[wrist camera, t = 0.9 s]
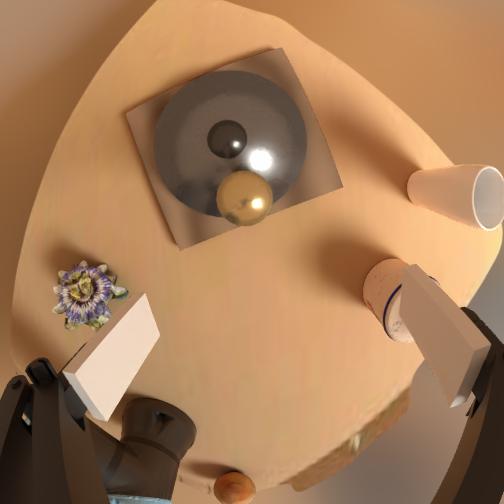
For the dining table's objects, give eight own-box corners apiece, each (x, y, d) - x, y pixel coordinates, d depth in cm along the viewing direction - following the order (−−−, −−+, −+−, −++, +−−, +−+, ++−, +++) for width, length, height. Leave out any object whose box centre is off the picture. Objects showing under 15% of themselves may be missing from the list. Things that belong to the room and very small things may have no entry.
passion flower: (120, 259, 43) (132, 275, 33) (116, 320, 43) (129, 351, 34) (56, 253, 36) (48, 268, 26) (56, 317, 37) (52, 350, 27)
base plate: (182, 247, 36) (179, 250, 35) (130, 115, 32) (125, 113, 30) (339, 186, 34) (343, 187, 32) (281, 52, 29) (281, 47, 28)
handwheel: (189, 238, 34) (151, 273, 21) (139, 111, 30) (82, 83, 17) (326, 184, 32) (369, 188, 19) (270, 56, 28) (277, -3, 15)
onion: (261, 479, 51) (262, 510, 41) (225, 483, 52) (222, 513, 42) (247, 463, 49) (245, 498, 39) (208, 468, 50) (203, 500, 40)
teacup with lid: (349, 303, 38) (379, 346, 27) (378, 246, 36) (421, 272, 24) (406, 324, 39) (441, 364, 28) (433, 275, 37) (477, 304, 25)
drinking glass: (415, 155, 32) (487, 150, 18) (443, 186, 33) (514, 196, 19) (392, 191, 34) (462, 201, 19) (422, 221, 35) (491, 245, 20)
